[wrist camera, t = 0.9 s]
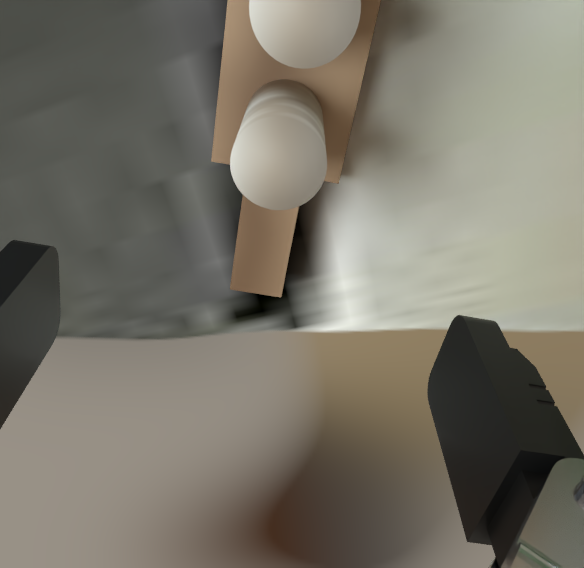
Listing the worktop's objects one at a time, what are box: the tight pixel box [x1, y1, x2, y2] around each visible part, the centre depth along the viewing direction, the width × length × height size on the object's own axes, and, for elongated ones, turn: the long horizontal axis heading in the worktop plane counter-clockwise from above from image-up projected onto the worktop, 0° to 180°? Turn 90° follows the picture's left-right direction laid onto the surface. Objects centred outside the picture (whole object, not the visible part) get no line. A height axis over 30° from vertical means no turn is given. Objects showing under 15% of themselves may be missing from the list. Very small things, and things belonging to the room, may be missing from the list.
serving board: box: [211, 0, 381, 297], centre depth 23 cm, size 6×16×7 cm, turn 170°
